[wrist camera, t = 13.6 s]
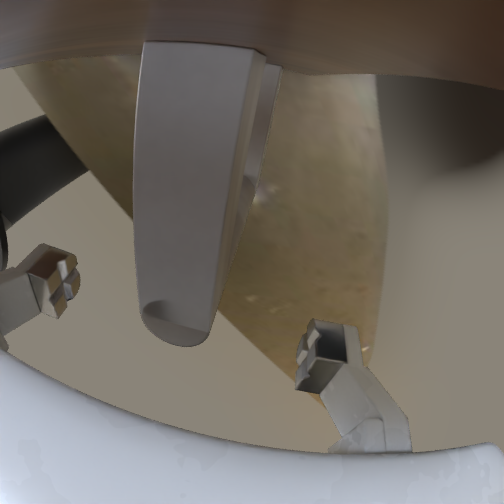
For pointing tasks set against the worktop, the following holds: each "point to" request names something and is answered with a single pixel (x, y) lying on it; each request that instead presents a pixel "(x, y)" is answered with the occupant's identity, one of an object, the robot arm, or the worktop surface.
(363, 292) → the worktop surface
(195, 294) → the cupboard door
